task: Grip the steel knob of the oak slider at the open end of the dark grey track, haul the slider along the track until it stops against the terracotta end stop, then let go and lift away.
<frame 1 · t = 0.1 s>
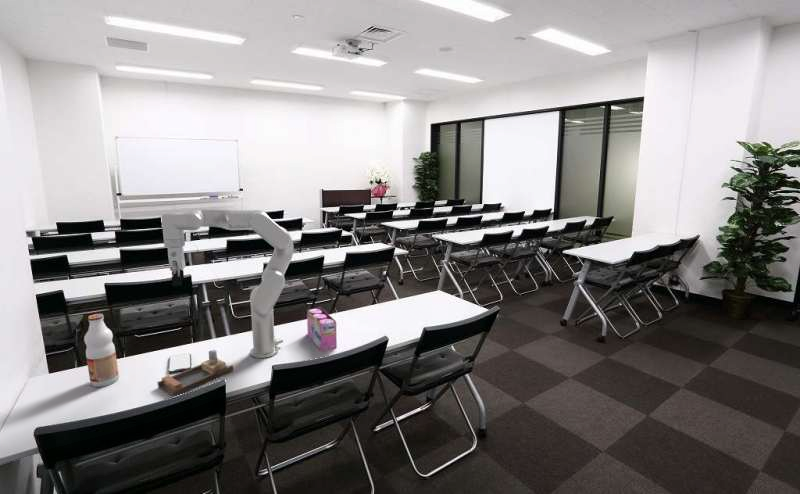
hand: (178, 282, 175), 37 cm above the table, tool pointing down, fingers open, 9 cm apart
slide track: (197, 379, 169), on the table
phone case: (180, 365, 182), on the table
pink multipack carton: (321, 341, 207), on the table
fruit juice: (105, 381, 167), on the table
oak slider: (213, 360, 174), point 5 cm above the table, slide at 0.0 cm
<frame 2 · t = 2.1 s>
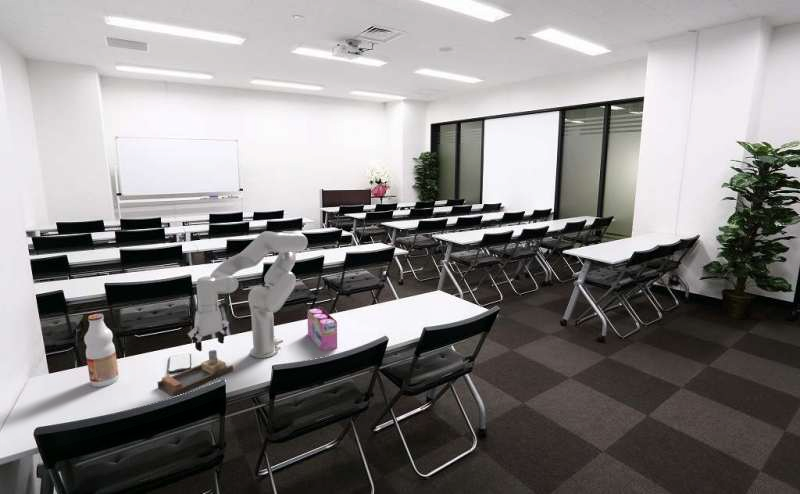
hand: (210, 346, 172), 12 cm above the table, tool pointing down, fingers open, 9 cm apart
nothing on the table moved.
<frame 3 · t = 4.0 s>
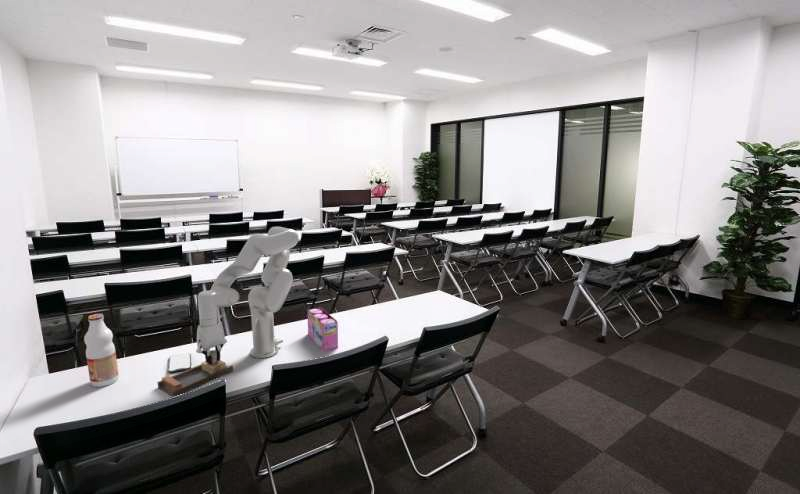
hand: (213, 361, 175), 5 cm above the table, tool pointing down, fingers closed on oak slider, 3 cm apart
oak slider: (213, 360, 174), point 5 cm above the table, slide at 0.0 cm, touching gripper
everything else where it was.
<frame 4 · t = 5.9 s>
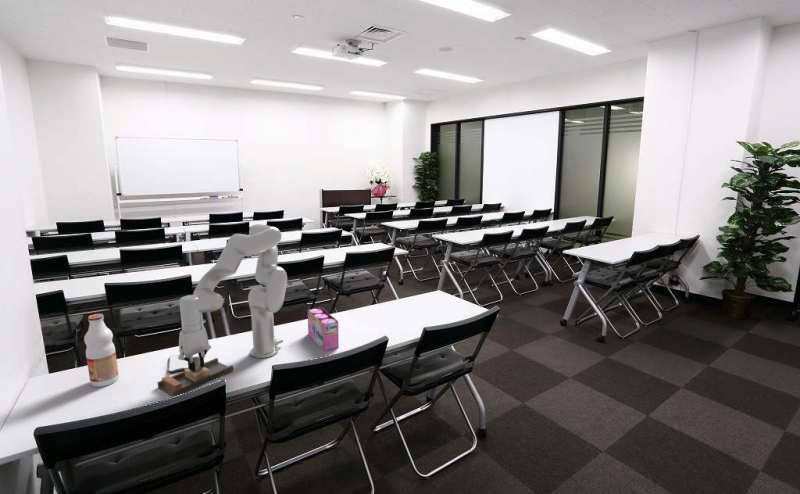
hand: (196, 368, 169), 5 cm above the table, tool pointing down, fingers closed on oak slider, 3 cm apart
oak slider: (196, 367, 169), point 5 cm above the table, slide at 7.3 cm, touching gripper
everything else where it was.
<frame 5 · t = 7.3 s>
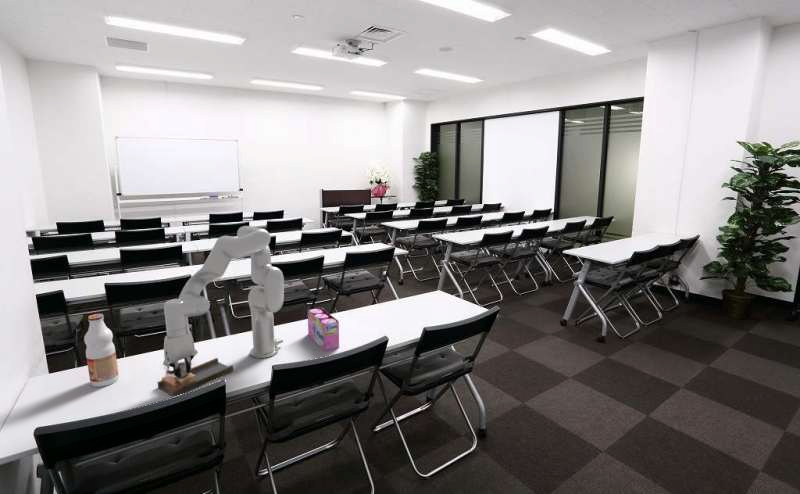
hand: (182, 374, 164), 5 cm above the table, tool pointing down, fingers closed on oak slider, 3 cm apart
oak slider: (182, 373, 164), point 5 cm above the table, slide at 13.1 cm, touching gripper
everything else where it was.
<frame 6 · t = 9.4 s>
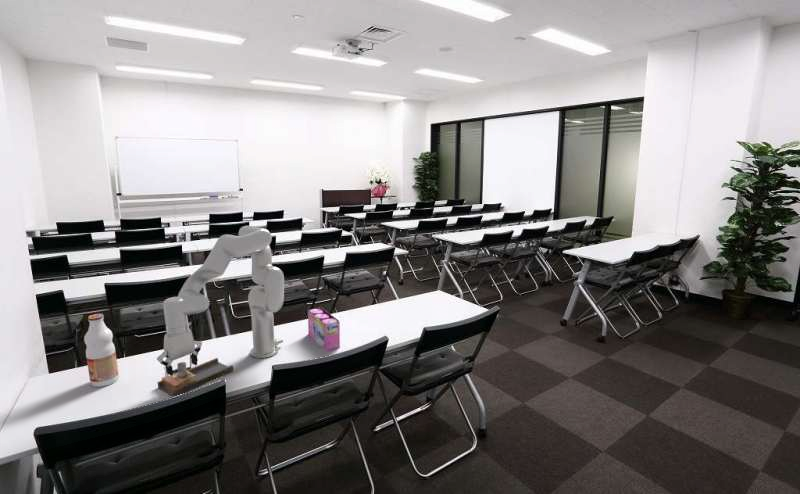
hand: (182, 369, 164), 7 cm above the table, tool pointing down, fingers open, 9 cm apart
oak slider: (182, 373, 164), point 5 cm above the table, slide at 13.0 cm
everything else where it was.
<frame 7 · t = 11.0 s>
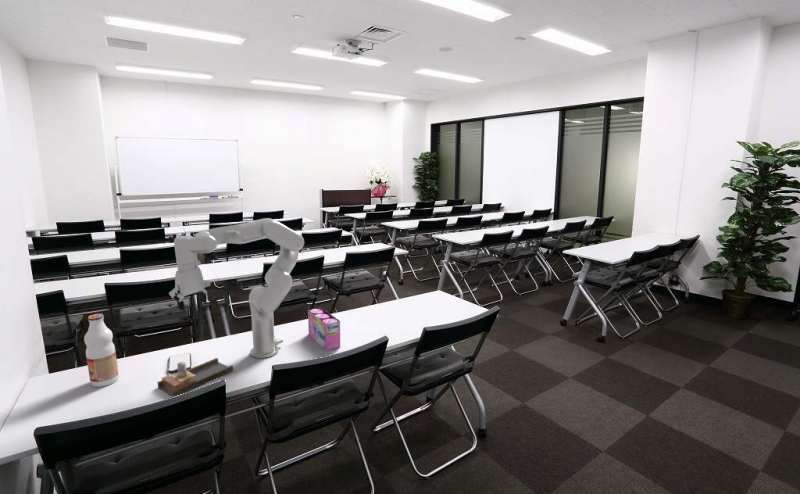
hand: (193, 306, 172), 28 cm above the table, tool pointing down, fingers open, 9 cm apart
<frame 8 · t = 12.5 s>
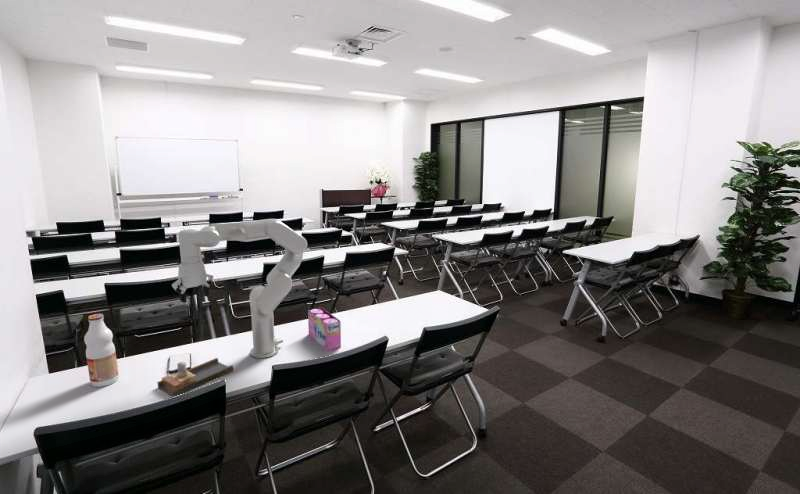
hand: (195, 299, 175), 30 cm above the table, tool pointing down, fingers open, 9 cm apart
at the end: oak slider slide at 13.0 cm; the gripper is holding nothing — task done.
